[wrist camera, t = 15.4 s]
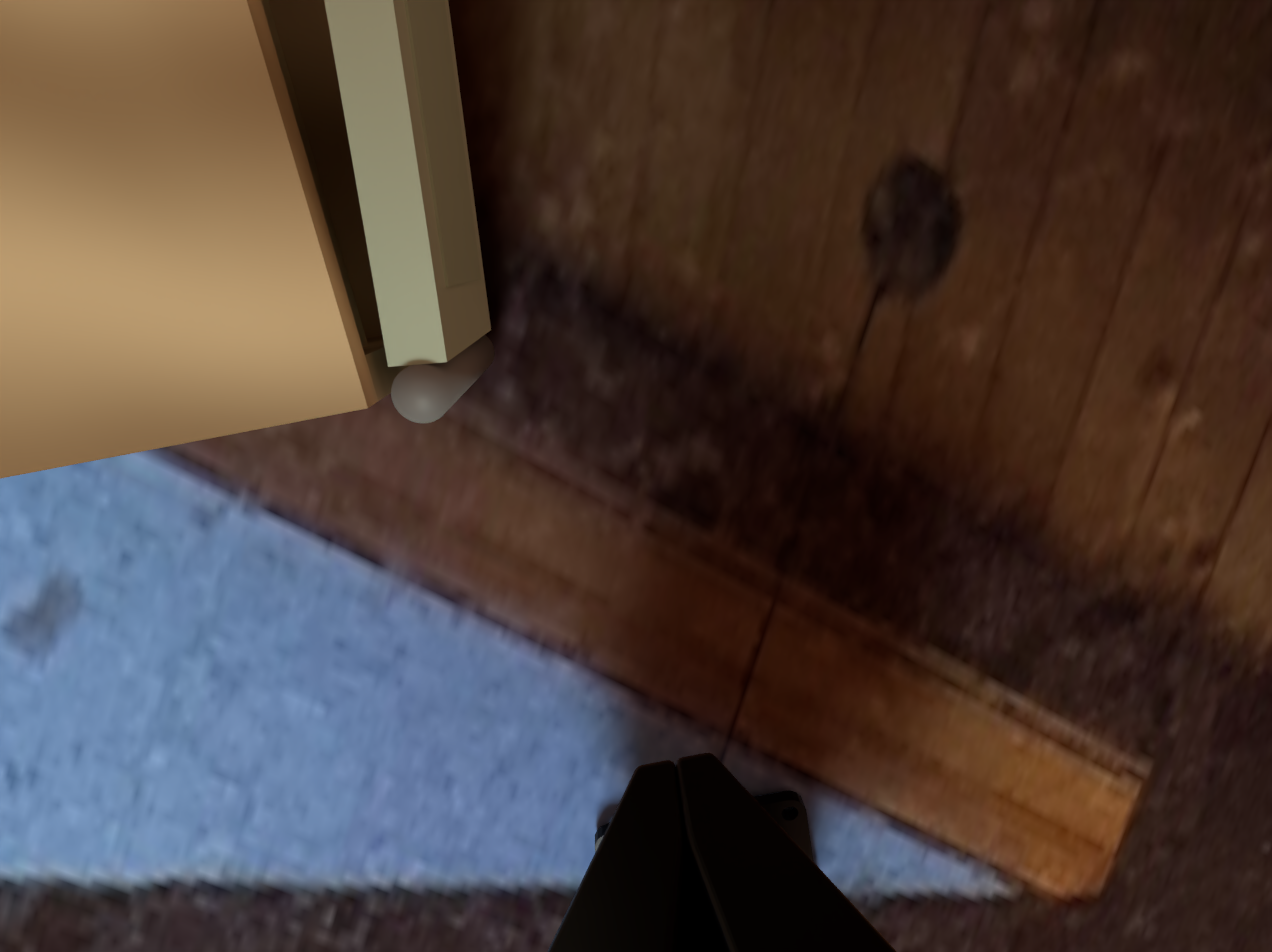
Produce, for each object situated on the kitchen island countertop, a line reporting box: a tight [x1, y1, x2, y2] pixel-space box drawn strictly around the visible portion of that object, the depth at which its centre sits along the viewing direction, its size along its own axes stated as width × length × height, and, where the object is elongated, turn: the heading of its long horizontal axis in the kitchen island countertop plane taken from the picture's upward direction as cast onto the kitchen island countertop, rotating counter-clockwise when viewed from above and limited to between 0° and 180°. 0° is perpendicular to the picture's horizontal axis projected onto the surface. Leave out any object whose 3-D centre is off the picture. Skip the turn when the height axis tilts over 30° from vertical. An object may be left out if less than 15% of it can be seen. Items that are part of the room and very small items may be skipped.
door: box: [324, 0, 495, 423], centre depth 14 cm, size 12×1×6 cm, turn 4°
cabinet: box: [0, 0, 410, 478], centre depth 14 cm, size 12×12×6 cm
